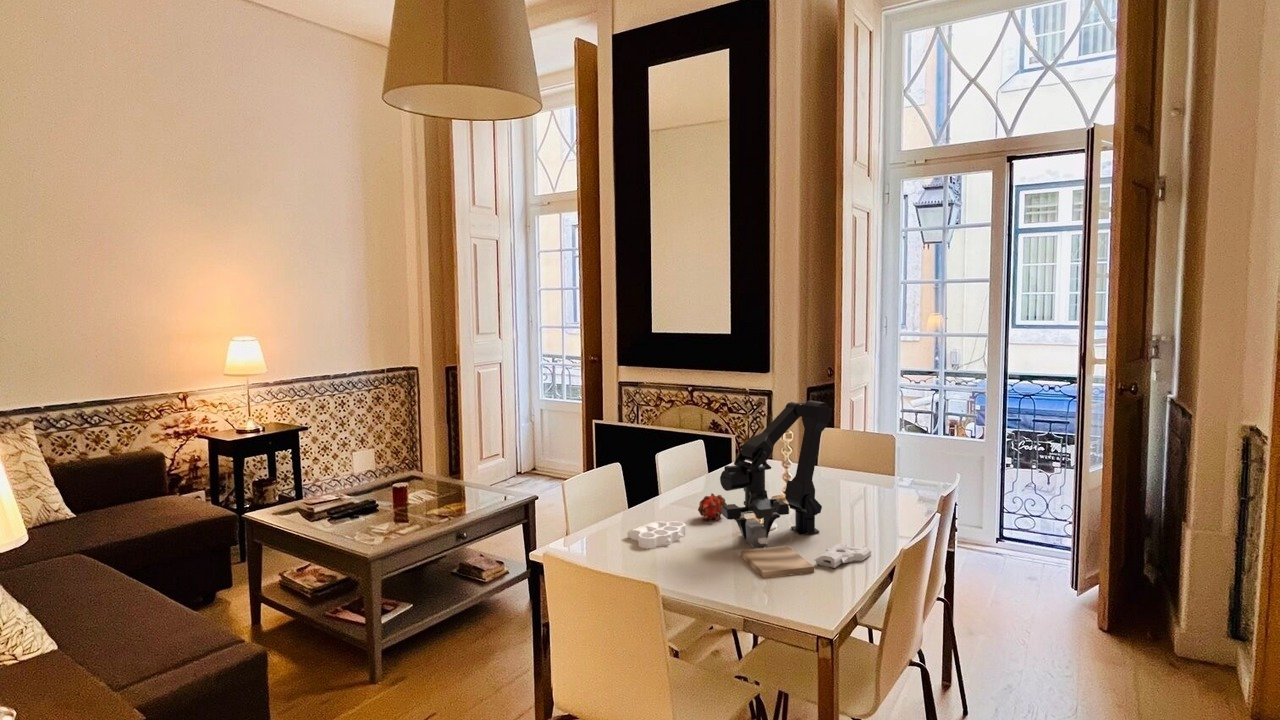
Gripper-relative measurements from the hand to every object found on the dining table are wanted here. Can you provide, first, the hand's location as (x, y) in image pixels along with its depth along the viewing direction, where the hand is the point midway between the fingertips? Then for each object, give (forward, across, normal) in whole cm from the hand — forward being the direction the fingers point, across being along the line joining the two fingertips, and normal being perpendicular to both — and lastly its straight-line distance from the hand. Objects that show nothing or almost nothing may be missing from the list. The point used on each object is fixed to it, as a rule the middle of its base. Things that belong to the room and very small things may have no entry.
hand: (755, 538), depth 202 cm
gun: (+2, +18, -19) cm, 26 cm away
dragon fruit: (+1, -5, +24) cm, 25 cm away
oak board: (+1, -1, -17) cm, 17 cm away
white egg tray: (+2, -26, +11) cm, 28 cm away
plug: (+1, 0, 0) cm, 1 cm away
